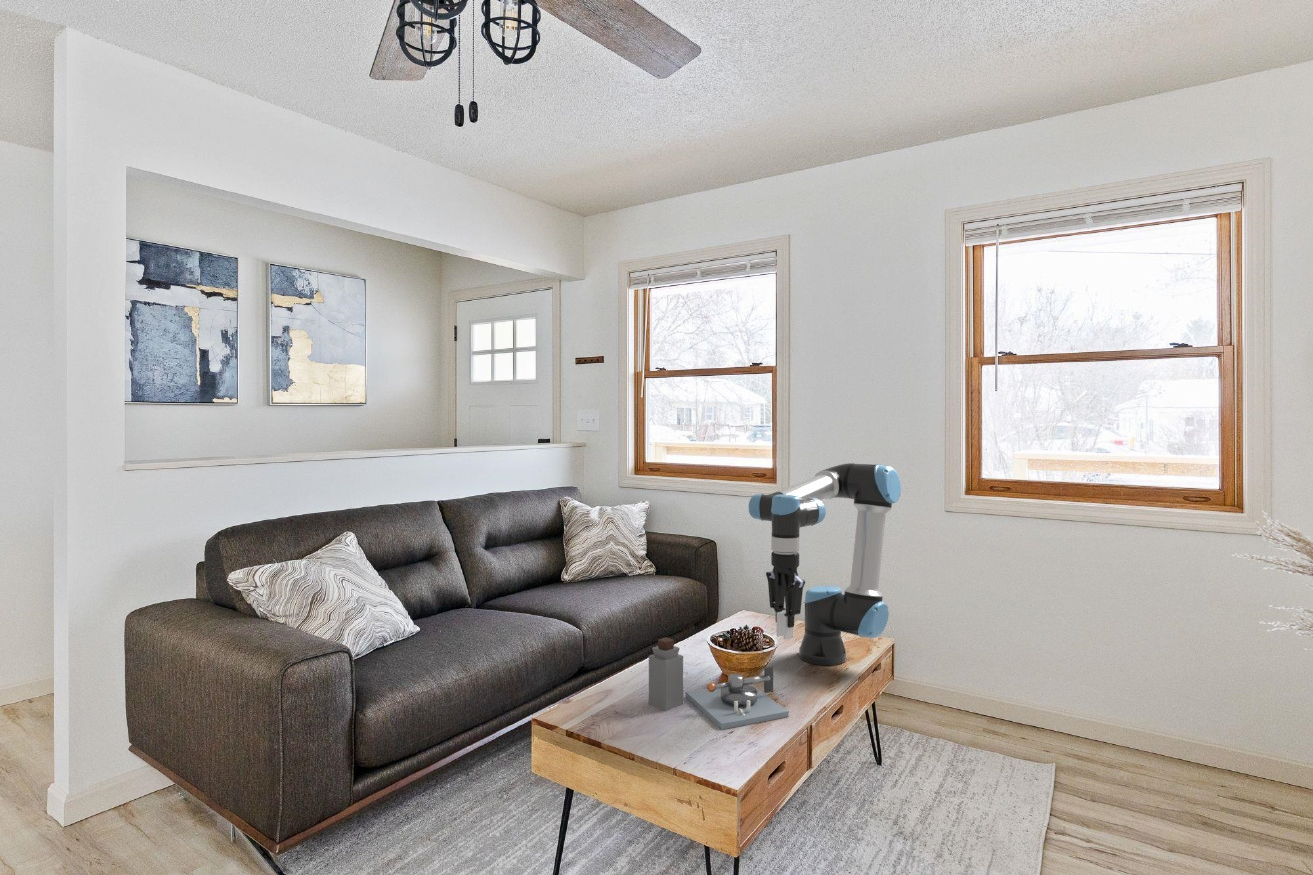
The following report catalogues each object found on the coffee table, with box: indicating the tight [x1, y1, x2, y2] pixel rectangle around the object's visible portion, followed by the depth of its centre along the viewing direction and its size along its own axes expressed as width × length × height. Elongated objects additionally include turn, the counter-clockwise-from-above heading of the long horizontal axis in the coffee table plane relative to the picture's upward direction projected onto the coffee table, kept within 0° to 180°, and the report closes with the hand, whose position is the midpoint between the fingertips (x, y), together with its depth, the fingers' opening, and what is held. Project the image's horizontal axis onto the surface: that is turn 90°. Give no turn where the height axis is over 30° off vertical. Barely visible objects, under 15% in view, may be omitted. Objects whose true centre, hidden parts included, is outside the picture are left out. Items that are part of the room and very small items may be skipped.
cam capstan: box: [706, 665, 774, 706], centre depth 194 cm, size 20×10×7 cm, turn 112°
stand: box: [685, 684, 790, 730], centre depth 193 cm, size 20×22×4 cm
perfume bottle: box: [648, 636, 684, 712], centre depth 195 cm, size 7×7×18 cm
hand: (784, 636), depth 193 cm, fingers open, 2 cm apart
